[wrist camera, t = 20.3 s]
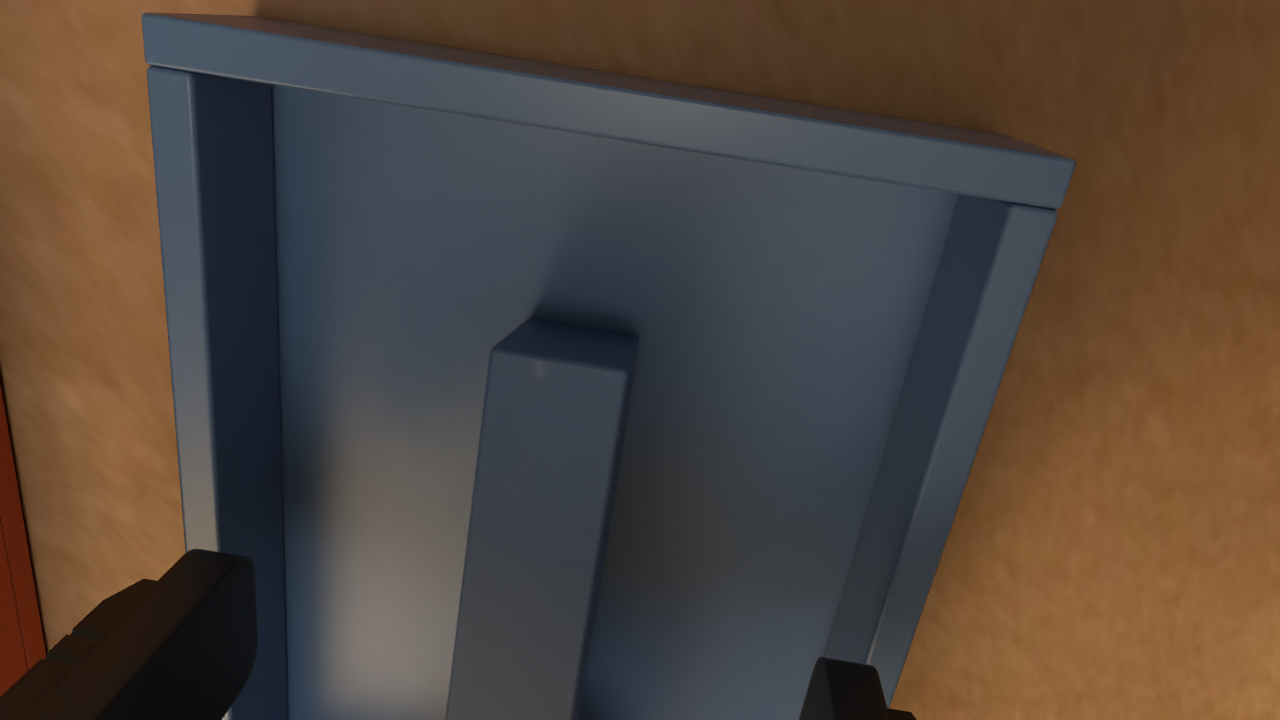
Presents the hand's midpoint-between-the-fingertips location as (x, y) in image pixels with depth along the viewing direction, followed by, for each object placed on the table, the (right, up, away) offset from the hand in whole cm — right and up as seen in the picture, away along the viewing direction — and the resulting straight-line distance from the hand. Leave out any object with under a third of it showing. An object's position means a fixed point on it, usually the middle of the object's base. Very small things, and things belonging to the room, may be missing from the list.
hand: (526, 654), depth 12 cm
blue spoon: (0, 0, +2) cm, 2 cm away
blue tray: (0, +1, +3) cm, 4 cm away
